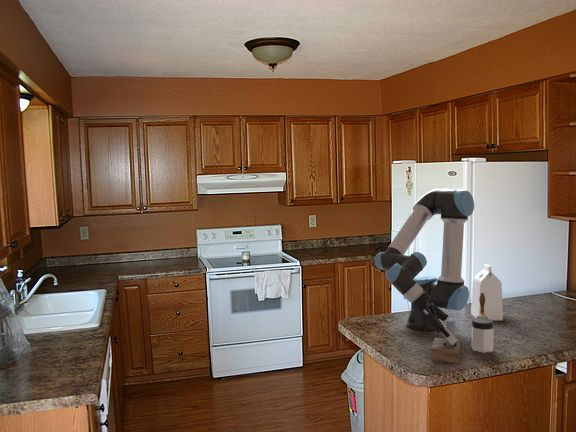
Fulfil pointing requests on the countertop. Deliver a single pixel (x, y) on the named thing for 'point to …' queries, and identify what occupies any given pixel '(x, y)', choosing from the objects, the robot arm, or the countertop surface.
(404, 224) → the robot arm
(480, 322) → the jar
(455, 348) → the hole block
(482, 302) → the hand bell
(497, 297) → the milk
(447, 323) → the peg
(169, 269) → the countertop surface
